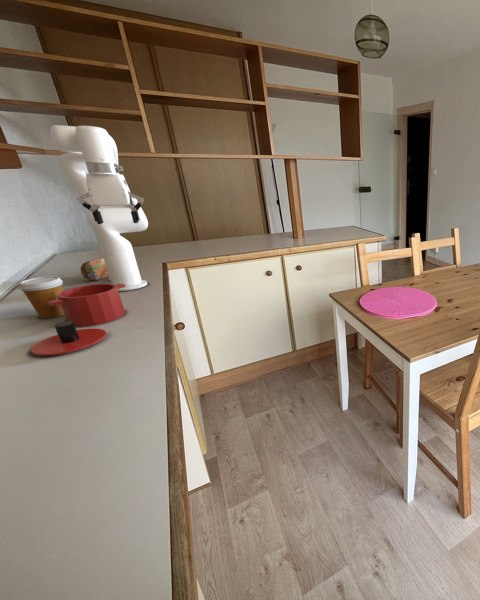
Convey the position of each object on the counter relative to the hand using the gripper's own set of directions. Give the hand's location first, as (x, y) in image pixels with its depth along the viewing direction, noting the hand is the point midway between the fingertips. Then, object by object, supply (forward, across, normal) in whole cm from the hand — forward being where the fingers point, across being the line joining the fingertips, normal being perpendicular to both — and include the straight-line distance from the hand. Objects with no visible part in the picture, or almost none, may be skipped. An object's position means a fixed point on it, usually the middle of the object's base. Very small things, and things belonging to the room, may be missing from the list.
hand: (118, 223), depth 107 cm
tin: (+28, +23, -40) cm, 54 cm away
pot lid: (+28, +8, +33) cm, 44 cm away
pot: (+28, +8, +14) cm, 33 cm away
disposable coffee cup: (+28, +22, +6) cm, 36 cm away
